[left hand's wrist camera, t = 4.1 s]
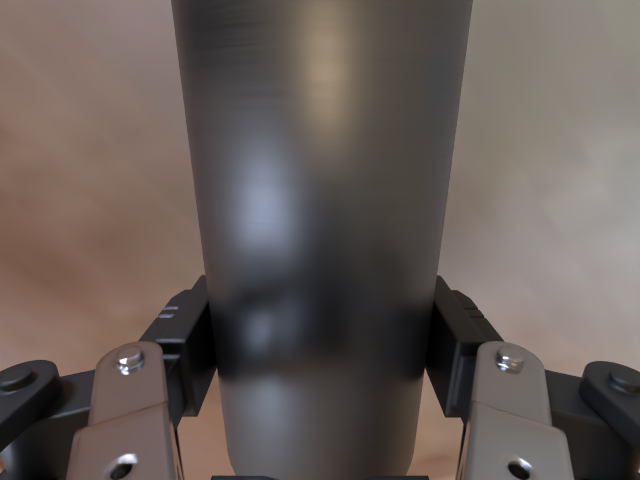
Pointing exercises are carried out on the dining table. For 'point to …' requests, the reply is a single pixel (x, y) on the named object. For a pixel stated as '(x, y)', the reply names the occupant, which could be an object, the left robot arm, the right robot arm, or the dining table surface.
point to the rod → (321, 218)
